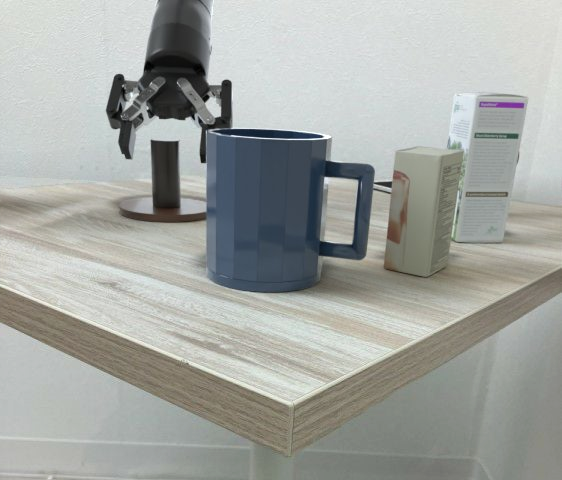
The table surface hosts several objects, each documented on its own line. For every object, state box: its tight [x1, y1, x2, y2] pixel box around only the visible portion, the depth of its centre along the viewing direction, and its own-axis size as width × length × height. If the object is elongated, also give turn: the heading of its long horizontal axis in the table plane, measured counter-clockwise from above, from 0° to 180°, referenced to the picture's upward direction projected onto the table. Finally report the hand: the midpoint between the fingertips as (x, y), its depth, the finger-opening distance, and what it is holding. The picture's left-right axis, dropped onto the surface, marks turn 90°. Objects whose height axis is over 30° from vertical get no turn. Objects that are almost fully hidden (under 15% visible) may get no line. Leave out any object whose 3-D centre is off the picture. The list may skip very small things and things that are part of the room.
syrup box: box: [446, 91, 529, 244], centre depth 68 cm, size 6×6×14 cm
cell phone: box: [373, 178, 393, 194], centre depth 97 cm, size 8×16×1 cm, turn 31°
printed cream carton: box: [383, 145, 464, 278], centre depth 55 cm, size 5×4×10 cm
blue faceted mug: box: [205, 127, 376, 293], centre depth 50 cm, size 13×9×11 cm
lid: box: [118, 137, 206, 223], centre depth 73 cm, size 11×11×8 cm
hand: (165, 156), depth 72 cm, fingers open, 8 cm apart
